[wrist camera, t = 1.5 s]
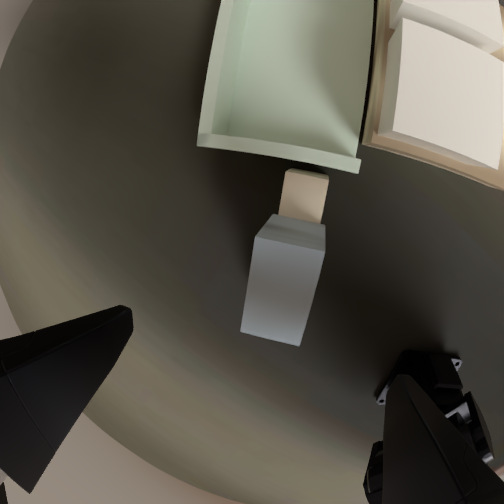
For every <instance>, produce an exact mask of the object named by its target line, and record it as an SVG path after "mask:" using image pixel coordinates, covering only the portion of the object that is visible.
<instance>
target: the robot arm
mask: <svg viewBox="0 0 504 504" xmlns="http://www.w3.org/2000/svg"><path fill="white" fill-rule="evenodd" d="M132 332H133V317H132V310H131V309H130V308H129V307H126V306H123V305H118V306H115V307H112V308H109V309H105V310H102V311H99V312H96V313H92V314H89V315H86V316H83V317H79V318H76V319H73V320H69V321H66V322H63V323H60V324H56V325H53V326H50V327H46V328H43V329H40V330H36V331H35V332H34V331H33V332H30V333H26V334H23V335H19V336H16V337H12V338H7V339H3V340H0V504H8V502H7V497H6V491H5V486H4V482H3V481H4V480H5V478H6V477H7V476H9V477H10V478H11V479H12V480H13V481H15V482H16V483H17V484H18V485H19V486H20V487H22V488H23V489H24V490H25V491H27V492H28V493H29V494H30V493H31V492H32V490H33V489H34V487H35V485H36V484H37V482H38V480H39V479H40V477H41V475H42V474H43V472H44V471H45V469H46V467H47V465H48V464H49V463H50V461H51V459H52V458H53V456H54V455H55V452H56V451H57V449H58V448H59V446H60V445H61V443H62V442H63V440H64V439H65V437H66V436H67V434H68V433H69V431H70V430H71V428H72V426H73V425H74V423H75V422H76V420H77V419H78V417H79V416H80V414H81V413H82V412H83V410H84V409H85V407H86V406H87V404H88V403H89V401H90V400H91V398H92V397H93V395H94V394H95V392H96V391H97V390H98V388H99V387H100V385H101V384H102V382H103V381H104V380H105V378H106V377H107V375H108V374H109V372H110V371H111V370H112V368H113V367H114V365H115V363H116V362H117V360H118V358H119V356H120V354H121V352H122V351H123V349H124V347H125V345H126V343H127V342H128V340H129V338H130V336H131V335H132ZM407 355H409V356H407ZM405 356H407V357H405ZM456 362H457V363H456ZM461 364H462V361H461V359H460V358H459V357H454V356H449V355H443V354H436V353H424V352H418V351H411V350H406V351H404V352H402V354H401V355H400V357H399V359H398V361H397V363H396V365H395V367H394V369H393V370H392V372H391V374H390V376H389V378H388V379H387V381H386V383H385V385H384V386H383V388H382V390H381V391H380V393H379V395H378V396H377V398H376V401H377V404H380V405H385V419H384V432H383V441H378V442H376V443H373V447H372V451H371V455H370V459H369V463H368V467H367V471H366V474H365V479H364V483H363V487H364V490H365V495H366V498H367V500H368V502H369V504H504V482H503V481H502V479H501V478H500V477H499V476H498V475H497V474H496V473H495V472H494V471H493V470H492V469H491V468H490V467H489V466H488V465H487V463H489V462H490V461H492V460H494V453H493V447H492V442H491V437H490V433H489V431H488V428H487V425H486V422H485V420H484V417H483V415H482V413H481V411H480V409H479V407H478V405H477V403H476V401H475V399H474V397H473V395H472V394H471V392H470V391H469V392H468V393H466V394H465V395H464V396H463V394H462V391H461V390H462V388H463V385H462V383H461V380H460V378H459V375H458V373H457V370H458V369H459V367H460V365H461ZM381 399H382V400H381Z"/></svg>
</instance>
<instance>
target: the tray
mask: <svg viewBox="0 0 504 504" xmlns="http://www.w3.org/2000/svg"><path fill="white" fill-rule="evenodd" d="M373 7H374V0H221V5H220V9H219V14H218V18H217V23H216V28H215V33H214V38H213V43H212V49H211V54H210V59H209V65H208V71H207V77H206V83H205V89H204V95H203V102H202V109H201V116H200V123H199V130H198V138H197V146H201V147H210V148H219V149H227V150H234V151H241V152H248V153H255V154H261V155H268V156H274V157H279V158H285V159H291V160H296V161H301V162H306V163H311V164H316V165H321V166H326V167H330V168H335V169H339V170H344V171H348V172H352V173H357V174H359V169H360V163H361V159H357V158H355V157H356V152H357V146H358V140H359V134H360V128H361V122H362V115H363V109H364V102H365V94H366V86H367V78H368V70H369V60H370V50H371V38H372V25H373Z"/></svg>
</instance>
